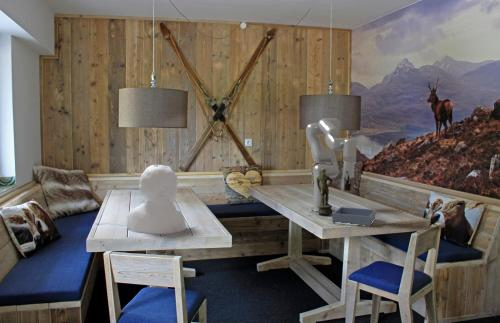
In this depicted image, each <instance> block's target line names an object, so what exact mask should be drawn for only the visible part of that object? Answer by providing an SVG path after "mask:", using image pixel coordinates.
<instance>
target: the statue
mask: <svg viewBox="0 0 500 323" xmlns="http://www.w3.org/2000/svg"><path fill="white" fill-rule="evenodd" d="M320 172H321V175H320V176H318V177H317V178H316V181H317V186H318V189H319V192H320V195H321V200H322V204H321V206H318V208H319V210H318V212H317V214H318V213H319V215H333V209H332V208H333V205H331V204H329V195H330V193H329V192H330V190H329V187H331V186H332V184H333V181H334V180H333V178H330V177H329V176H327V175H325V173H326V169H324V168H322V169H321V170H320ZM328 181H329V184H327V183H328ZM319 182H320V184H319ZM320 185H321V187H320ZM324 195H326V197H325V202H326V204H325V205H324Z"/></svg>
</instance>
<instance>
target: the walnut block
mask: <svg viewBox="0 0 500 323" xmlns="http://www.w3.org/2000/svg"><path fill="white" fill-rule="evenodd" d="M350 184H351V185H350V191H348V190H345V178H343V192H345V193H346V192H347V193H353V192H354V189H355V177H353V178H351V179H350Z"/></svg>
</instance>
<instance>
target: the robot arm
mask: <svg viewBox="0 0 500 323" xmlns="http://www.w3.org/2000/svg"><path fill="white" fill-rule="evenodd" d="M340 128H341V122H340V120H339V119H337V118H335V117H333V118H331V117H330V118H324V117H323V118H321V119H319V121H318V122H313V123H309V124H308V125H307V126H306V128H305V135H306V139H307V141H308V144H309V148H310V152H311V157H312V160H313V162H314V163H315V165H314V166H313V167H312V174H313V206H312V207H311V208H310V210H311V209H312V210H319V208H318V206H321V204H322V200H321V195H320V192H319V189H318V186H317V181H316V178H317V177H318V176H320V175H321V172H320V170H321V169H322V168H324V169H326V173H325V175H327V176H329V177H330V178H331V179H334V178H336V177H338V176H339V173H340V172H339V164H338V161H337V160H338V159H337V155H336V153H335V151H343V152H342V153H343V154H342V158H343V159H342V162H343V169H342V179H344V178H345V190H348V191H350V185H351V184H350V179H351V178H355V163H357V139H355V138H349V137H338V135H339V134H340ZM318 136H325V137H324V141H325V144H326V145H327V147H328V148H324V145H323V142H322V140H321V138H320V137H318ZM319 184H320V182H319ZM327 184H328V182H327ZM320 187H321V185H320ZM325 197H326V195H324V205H325V204H326V202H325ZM312 210H311V211H312Z"/></svg>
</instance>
